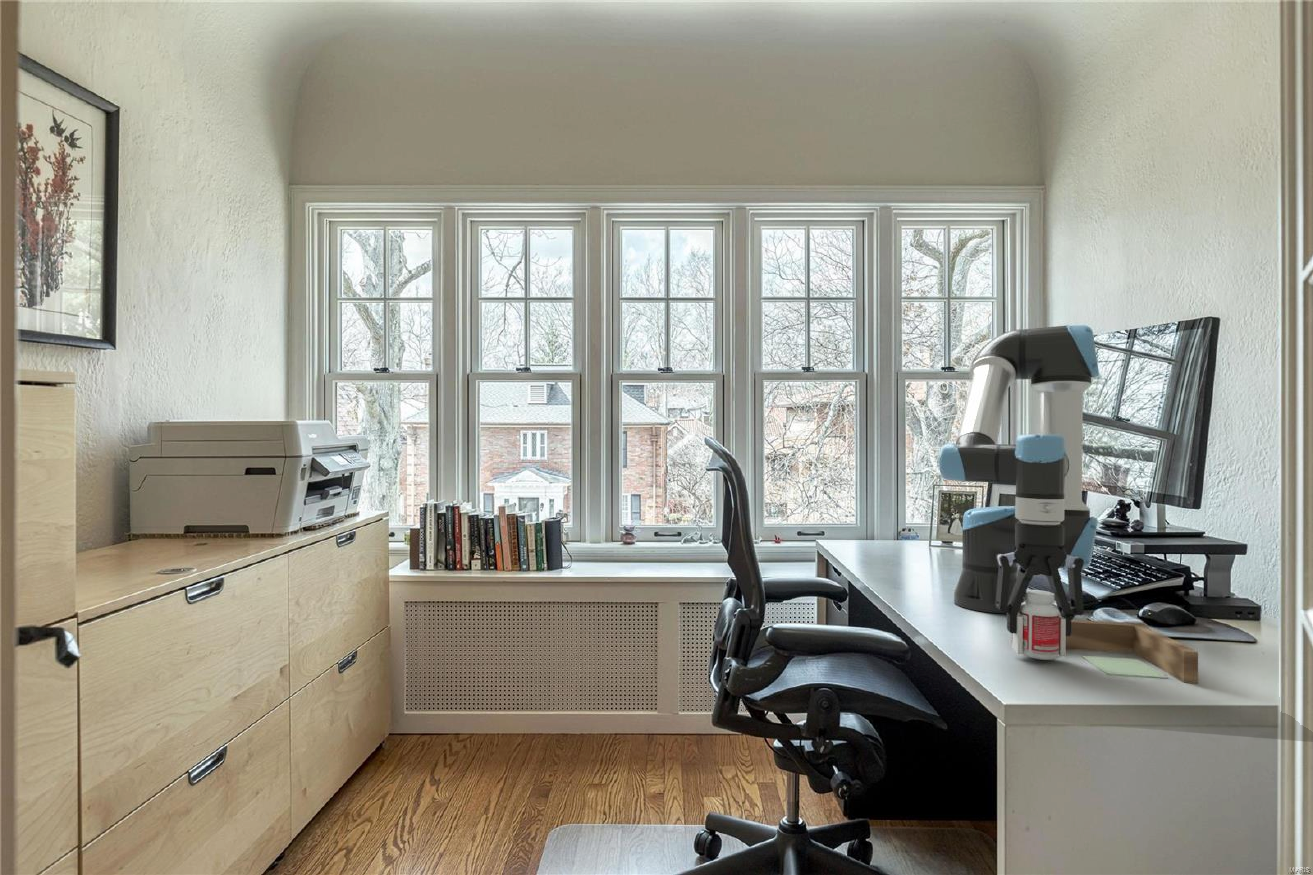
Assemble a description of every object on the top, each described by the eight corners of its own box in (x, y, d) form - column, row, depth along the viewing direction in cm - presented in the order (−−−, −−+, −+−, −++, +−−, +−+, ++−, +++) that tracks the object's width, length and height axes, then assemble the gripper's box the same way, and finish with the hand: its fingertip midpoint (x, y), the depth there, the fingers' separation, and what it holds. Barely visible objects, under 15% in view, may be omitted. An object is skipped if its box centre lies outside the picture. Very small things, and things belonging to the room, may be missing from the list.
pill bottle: (1065, 656, 116) (1066, 593, 116) (1047, 663, 112) (1048, 598, 112) (1029, 647, 121) (1030, 586, 121) (1011, 653, 118) (1012, 591, 117)
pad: (1081, 657, 118) (1082, 655, 118) (1137, 660, 117) (1137, 659, 117) (1107, 674, 109) (1107, 673, 109) (1167, 678, 108) (1167, 677, 108)
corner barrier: (1011, 642, 126) (1012, 616, 126) (1139, 650, 123) (1140, 623, 123) (1048, 673, 110) (1048, 643, 110) (1197, 683, 106) (1198, 652, 106)
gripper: (987, 523, 114) (987, 656, 115) (1110, 526, 111) (1109, 663, 111) (974, 517, 122) (974, 642, 122) (1089, 520, 119) (1088, 649, 119)
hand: (1038, 652), depth 117 cm, fingers closed on pill bottle, 6 cm apart
